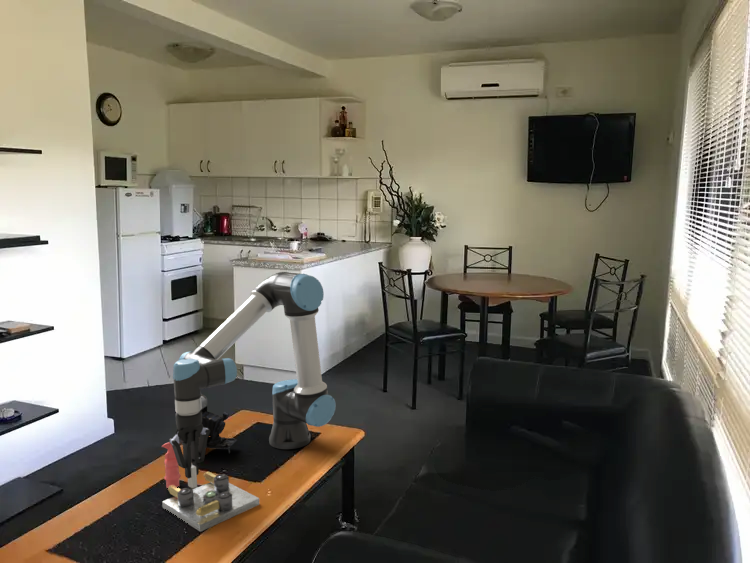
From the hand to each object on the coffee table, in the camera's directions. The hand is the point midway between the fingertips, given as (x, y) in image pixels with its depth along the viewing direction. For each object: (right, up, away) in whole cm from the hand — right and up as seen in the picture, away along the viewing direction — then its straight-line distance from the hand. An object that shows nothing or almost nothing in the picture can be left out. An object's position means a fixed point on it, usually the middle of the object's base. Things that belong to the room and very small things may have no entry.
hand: (192, 486), depth 188 cm
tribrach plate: (+7, -4, -5) cm, 9 cm away
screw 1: (-2, -2, -5) cm, 6 cm away
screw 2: (+6, -1, +4) cm, 7 cm away
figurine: (-9, -3, +8) cm, 12 cm away
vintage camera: (-3, +1, +35) cm, 35 cm away
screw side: (+10, -3, -12) cm, 16 cm away
